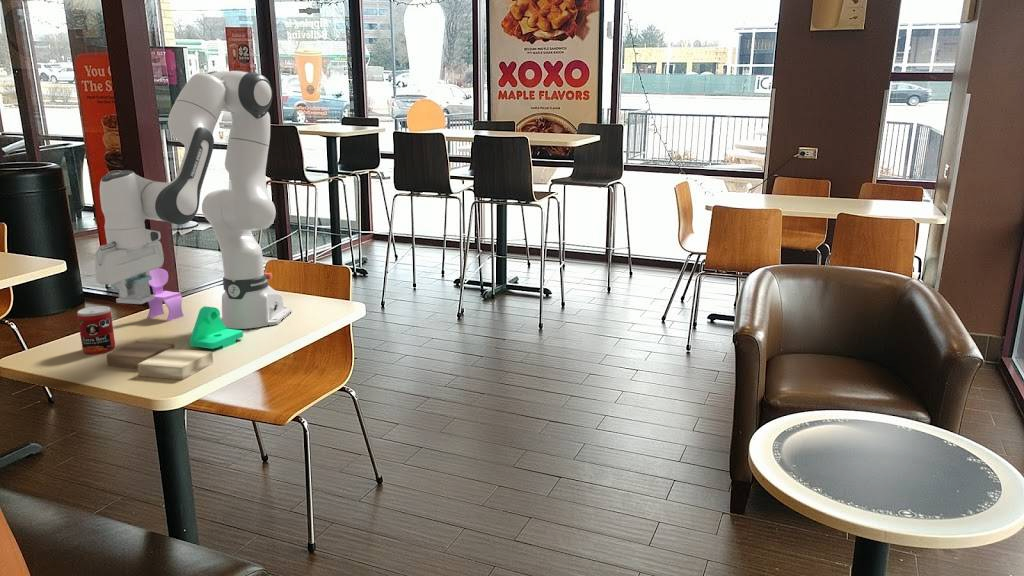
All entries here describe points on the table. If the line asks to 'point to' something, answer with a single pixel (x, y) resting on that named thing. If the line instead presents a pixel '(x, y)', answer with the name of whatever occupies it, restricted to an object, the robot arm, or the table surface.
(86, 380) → the table surface
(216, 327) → the camera mount
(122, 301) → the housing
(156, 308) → the toy chair
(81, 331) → the canned food
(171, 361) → the stand
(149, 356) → the stand
